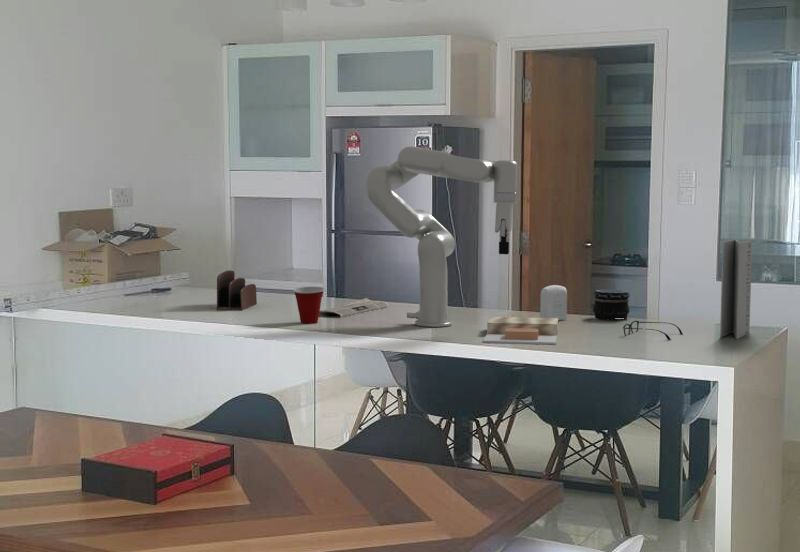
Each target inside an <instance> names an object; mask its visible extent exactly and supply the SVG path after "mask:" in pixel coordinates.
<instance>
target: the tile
mask: <svg viewBox="0 0 800 552" xmlns="http://www.w3.org/2000/svg"><path fill="white" fill-rule="evenodd" d="M538 337H539V329H529V328H506V331H505V339H526V340H538Z"/></svg>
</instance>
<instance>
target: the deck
mask: <svg viewBox="0 0 800 552" xmlns="http://www.w3.org/2000/svg"><path fill="white" fill-rule="evenodd" d="M486 328H487V329H486V330H487V333H486V335H487V334H505V331H506V328H529V329H539V335H553V336H557V337H558V333H559V320H558V318H540V317H522V316H521V317H516V316H513V317H512V316H490V318H489V319H488V321H487V327H486Z"/></svg>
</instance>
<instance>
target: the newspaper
mask: <svg viewBox="0 0 800 552" xmlns="http://www.w3.org/2000/svg"><path fill="white" fill-rule="evenodd" d="M387 307H389V308H390V305H389V304H388V303H387V302H386V301H381V300H371V299H369V298H368V297H365V298H362V299H360V300H357V301H354V302H351V303H349V304H345V305H342V306H339V307H332V308H327V309H322V310H321V309H320V313H319V317H327V316H331V315H336V314H337V315H336V316H334V318H339V319H344V318H348V317H352V316H351V315H353V316H356V315H355V314H358V315H360V314H359V313H362V314H365V313H364V312H367V313H370V312H369V311H372V312H375V311H374V310H376V311H380V310H379V309H381V310H384V309H383V308H386V309H388V308H387ZM347 316H348V317H347Z"/></svg>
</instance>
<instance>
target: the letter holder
mask: <svg viewBox="0 0 800 552" xmlns="http://www.w3.org/2000/svg"><path fill="white" fill-rule="evenodd" d="M257 299H258V298H257V285H256V284H255V283H250V284H247V285H246V279H245V278H244V277H237V278H235V270H231V269H230V270H225V271H223V272H221V273H219V274H218V275H217V278H216V311H241V312H242V311H243V310H246V309H249V308H250V307H253V306H256V305H257V303H258V302H257V301H258V300H257Z"/></svg>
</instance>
